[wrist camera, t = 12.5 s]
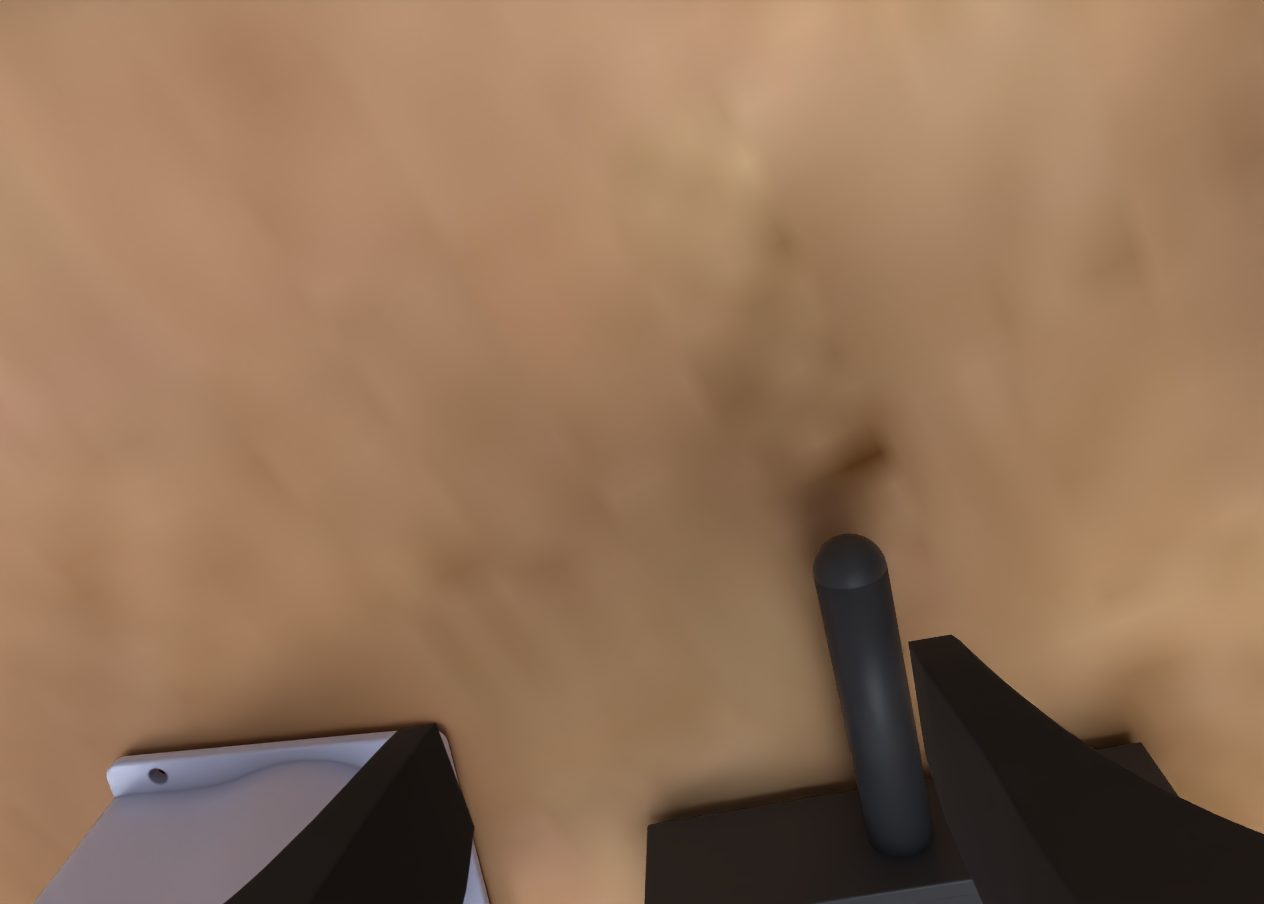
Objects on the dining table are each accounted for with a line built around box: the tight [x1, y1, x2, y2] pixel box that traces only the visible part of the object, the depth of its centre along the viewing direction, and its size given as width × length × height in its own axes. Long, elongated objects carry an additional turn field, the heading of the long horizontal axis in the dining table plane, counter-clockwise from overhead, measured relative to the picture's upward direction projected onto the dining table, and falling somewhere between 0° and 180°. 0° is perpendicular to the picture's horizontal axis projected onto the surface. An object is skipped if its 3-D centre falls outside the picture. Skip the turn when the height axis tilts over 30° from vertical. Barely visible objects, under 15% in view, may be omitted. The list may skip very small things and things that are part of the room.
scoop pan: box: [645, 534, 1178, 904], centre depth 25 cm, size 19×13×4 cm
